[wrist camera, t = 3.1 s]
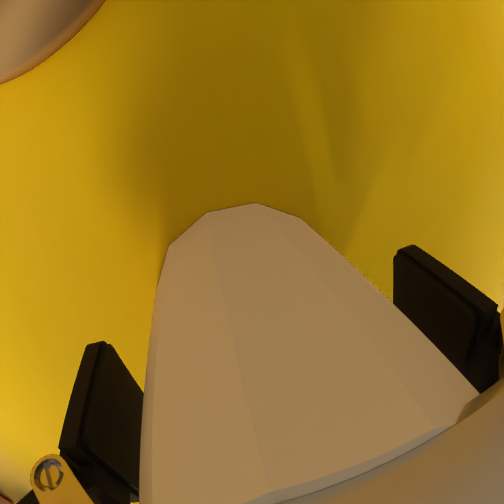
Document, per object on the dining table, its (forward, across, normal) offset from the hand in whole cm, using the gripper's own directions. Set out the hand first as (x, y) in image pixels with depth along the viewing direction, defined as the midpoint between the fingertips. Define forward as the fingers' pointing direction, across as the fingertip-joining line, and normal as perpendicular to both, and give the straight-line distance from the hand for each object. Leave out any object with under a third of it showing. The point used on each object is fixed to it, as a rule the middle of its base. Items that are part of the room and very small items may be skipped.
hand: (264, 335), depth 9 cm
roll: (+4, 0, 0) cm, 4 cm away
